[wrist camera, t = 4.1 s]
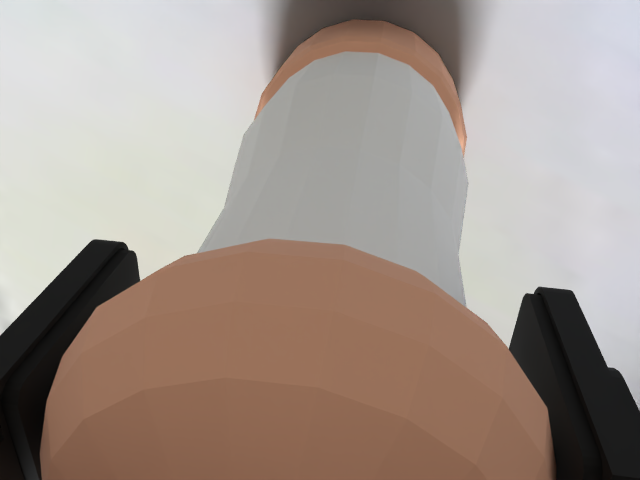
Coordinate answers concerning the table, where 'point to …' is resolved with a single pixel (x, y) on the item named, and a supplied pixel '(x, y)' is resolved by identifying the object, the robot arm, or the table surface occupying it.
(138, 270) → the robot arm
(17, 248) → the table surface
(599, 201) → the table surface
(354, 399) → the pepper shaker
